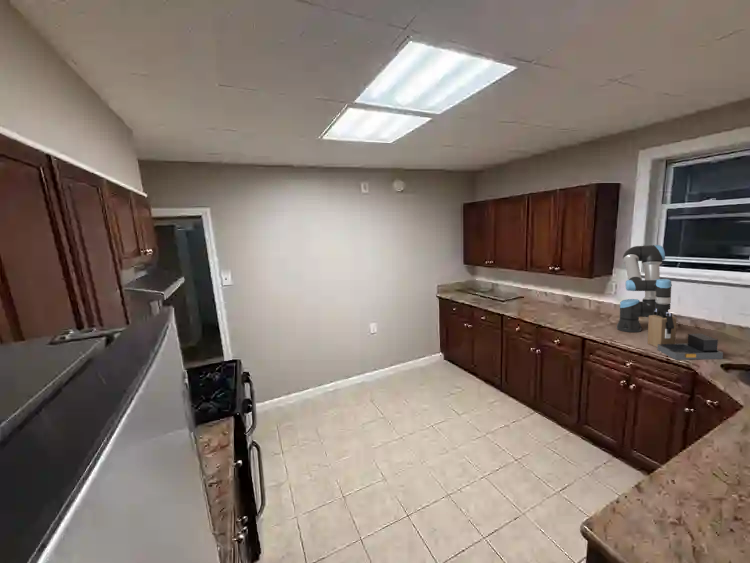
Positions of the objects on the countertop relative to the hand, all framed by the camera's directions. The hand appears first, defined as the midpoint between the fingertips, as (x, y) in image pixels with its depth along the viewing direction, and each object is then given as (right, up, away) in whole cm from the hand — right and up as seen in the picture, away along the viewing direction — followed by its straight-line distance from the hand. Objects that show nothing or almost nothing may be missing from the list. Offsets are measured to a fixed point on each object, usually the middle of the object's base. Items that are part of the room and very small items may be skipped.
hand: (661, 335), depth 216 cm
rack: (+3, -9, -15) cm, 18 cm away
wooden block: (+1, -7, +1) cm, 7 cm away
